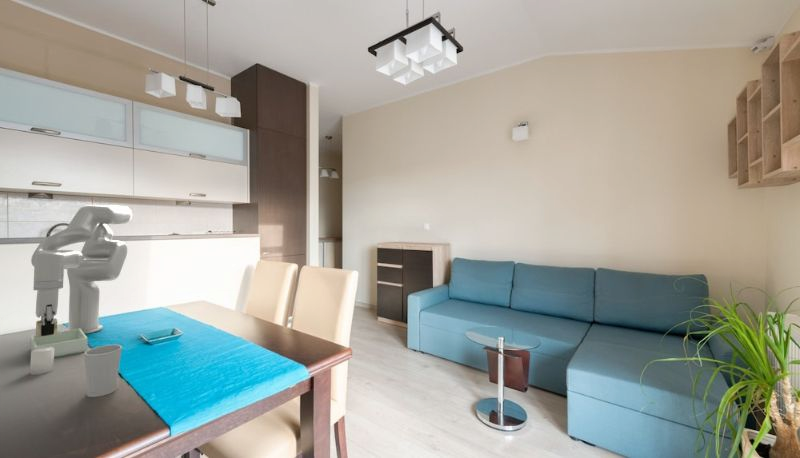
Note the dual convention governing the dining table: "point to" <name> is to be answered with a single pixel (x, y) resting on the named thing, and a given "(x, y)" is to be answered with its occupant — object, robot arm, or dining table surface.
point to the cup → (102, 369)
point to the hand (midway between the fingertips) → (46, 332)
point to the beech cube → (39, 323)
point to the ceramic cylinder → (42, 360)
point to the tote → (62, 342)
